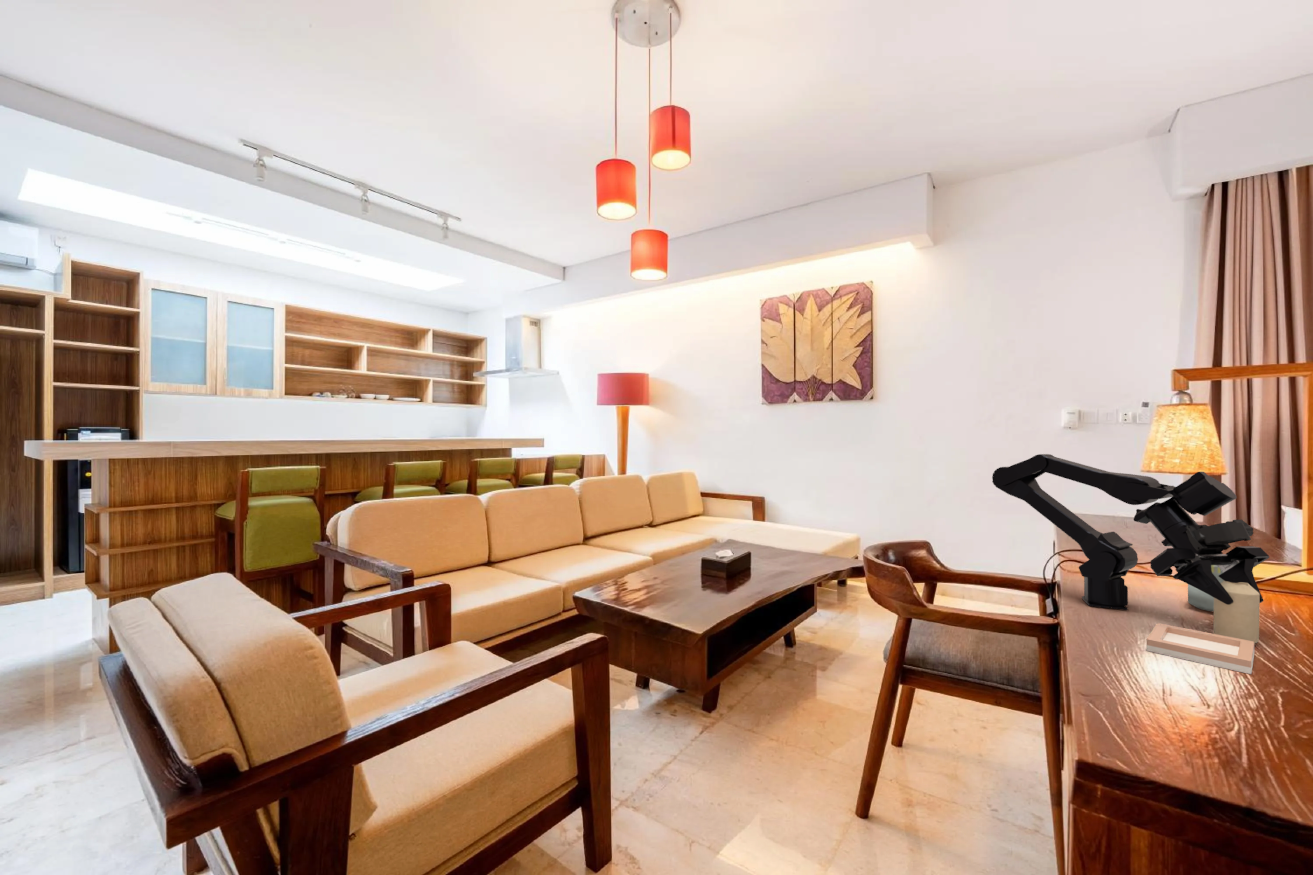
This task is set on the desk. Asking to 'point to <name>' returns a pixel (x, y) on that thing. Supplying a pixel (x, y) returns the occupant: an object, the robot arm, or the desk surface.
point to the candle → (1238, 612)
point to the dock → (1202, 647)
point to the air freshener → (1203, 593)
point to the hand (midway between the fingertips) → (1245, 602)
